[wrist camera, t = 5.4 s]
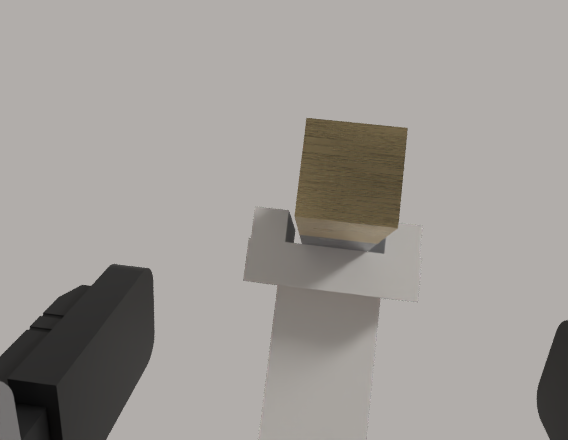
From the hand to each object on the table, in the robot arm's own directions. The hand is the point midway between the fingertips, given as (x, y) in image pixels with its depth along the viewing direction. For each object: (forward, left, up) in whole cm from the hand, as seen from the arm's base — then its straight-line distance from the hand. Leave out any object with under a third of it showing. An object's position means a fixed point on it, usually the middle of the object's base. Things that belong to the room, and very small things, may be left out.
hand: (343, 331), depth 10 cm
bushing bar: (0, -16, +3) cm, 16 cm away
